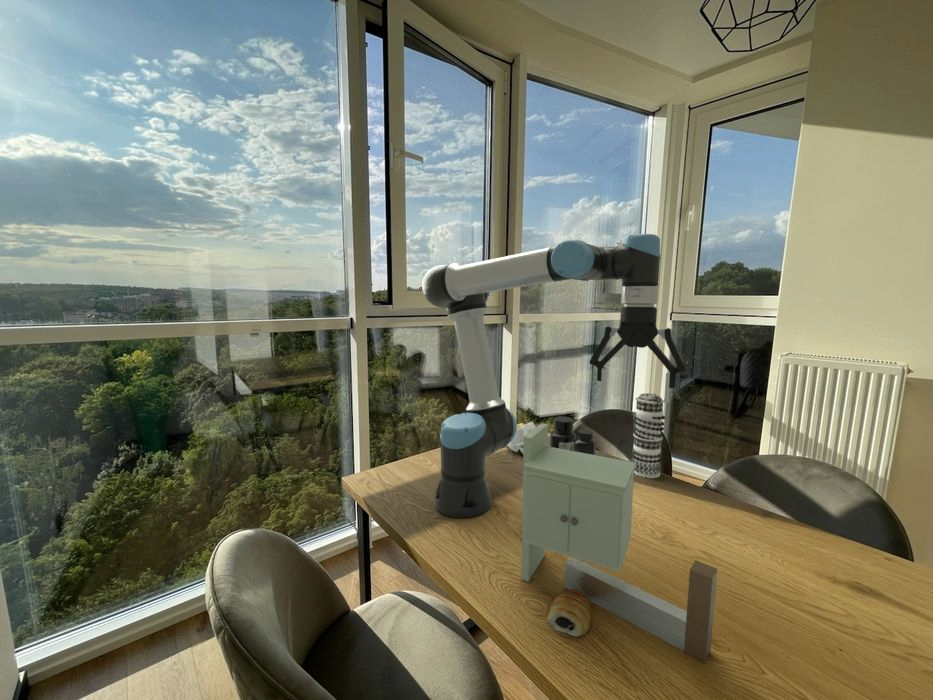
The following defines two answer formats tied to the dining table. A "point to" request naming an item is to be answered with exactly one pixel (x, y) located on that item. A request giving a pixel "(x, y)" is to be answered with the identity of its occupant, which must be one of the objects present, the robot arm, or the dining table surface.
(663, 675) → the dining table surface
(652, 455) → the decorative candle
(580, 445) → the supplement bottle
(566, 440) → the ink bottle
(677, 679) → the dining table surface
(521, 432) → the skull bowl
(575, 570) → the l-shaped try square
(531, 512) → the green cabinet
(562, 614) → the pastry
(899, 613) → the dining table surface
